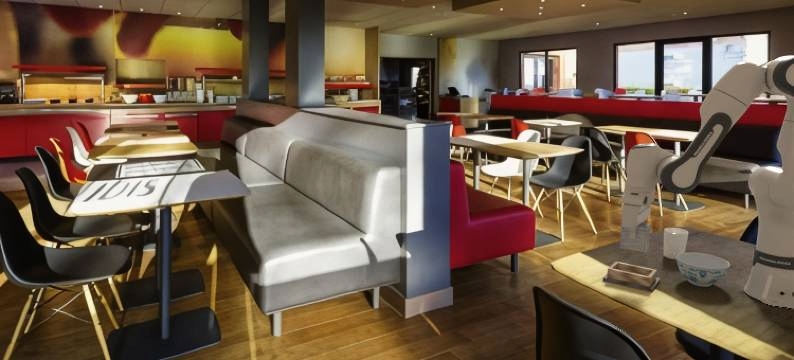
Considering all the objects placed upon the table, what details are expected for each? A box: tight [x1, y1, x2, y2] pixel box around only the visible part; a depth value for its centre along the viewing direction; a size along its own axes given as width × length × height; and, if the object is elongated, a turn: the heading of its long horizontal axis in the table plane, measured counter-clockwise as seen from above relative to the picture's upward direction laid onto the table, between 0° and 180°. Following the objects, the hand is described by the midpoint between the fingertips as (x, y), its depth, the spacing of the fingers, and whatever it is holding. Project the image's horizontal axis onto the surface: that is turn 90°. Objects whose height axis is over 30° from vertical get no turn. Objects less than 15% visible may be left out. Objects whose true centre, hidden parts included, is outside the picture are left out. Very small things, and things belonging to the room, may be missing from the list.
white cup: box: [663, 227, 689, 260], centre depth 194 cm, size 8×8×10 cm
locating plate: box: [602, 261, 661, 293], centre depth 172 cm, size 15×11×4 cm
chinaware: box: [675, 252, 731, 288], centre depth 170 cm, size 15×15×8 cm
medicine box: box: [619, 222, 652, 253], centre depth 169 cm, size 8×4×9 cm, turn 52°
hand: (635, 236), depth 169 cm, fingers closed on medicine box, 4 cm apart
